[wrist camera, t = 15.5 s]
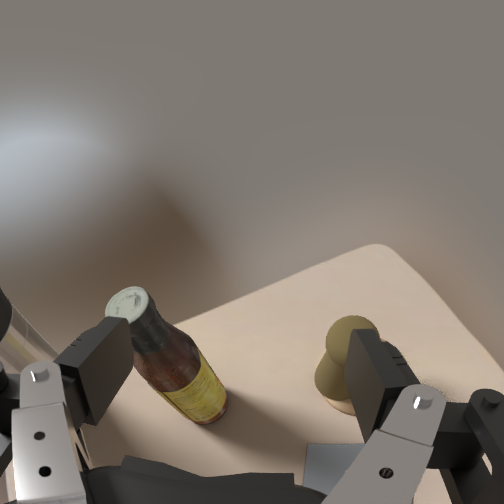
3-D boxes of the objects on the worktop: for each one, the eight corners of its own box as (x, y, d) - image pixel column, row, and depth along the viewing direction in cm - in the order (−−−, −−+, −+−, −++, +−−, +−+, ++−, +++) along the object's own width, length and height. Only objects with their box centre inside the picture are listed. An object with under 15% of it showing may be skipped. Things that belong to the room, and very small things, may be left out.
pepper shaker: (359, 351, 37) (379, 301, 29) (368, 396, 33) (394, 357, 25) (311, 357, 37) (318, 309, 29) (317, 404, 33) (328, 368, 25)
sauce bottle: (235, 387, 37) (183, 279, 24) (220, 432, 33) (147, 347, 20) (189, 376, 39) (119, 270, 26) (171, 417, 35) (82, 328, 22)
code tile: (294, 541, 22) (293, 542, 22) (307, 443, 30) (307, 443, 30) (408, 537, 19) (408, 537, 19) (412, 440, 28) (412, 440, 28)
